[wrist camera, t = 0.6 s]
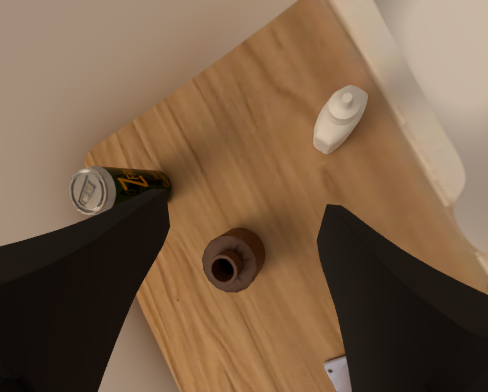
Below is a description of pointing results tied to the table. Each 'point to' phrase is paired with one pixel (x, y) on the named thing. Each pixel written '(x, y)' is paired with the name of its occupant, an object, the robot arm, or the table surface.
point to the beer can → (113, 187)
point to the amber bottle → (233, 260)
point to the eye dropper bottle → (339, 118)
